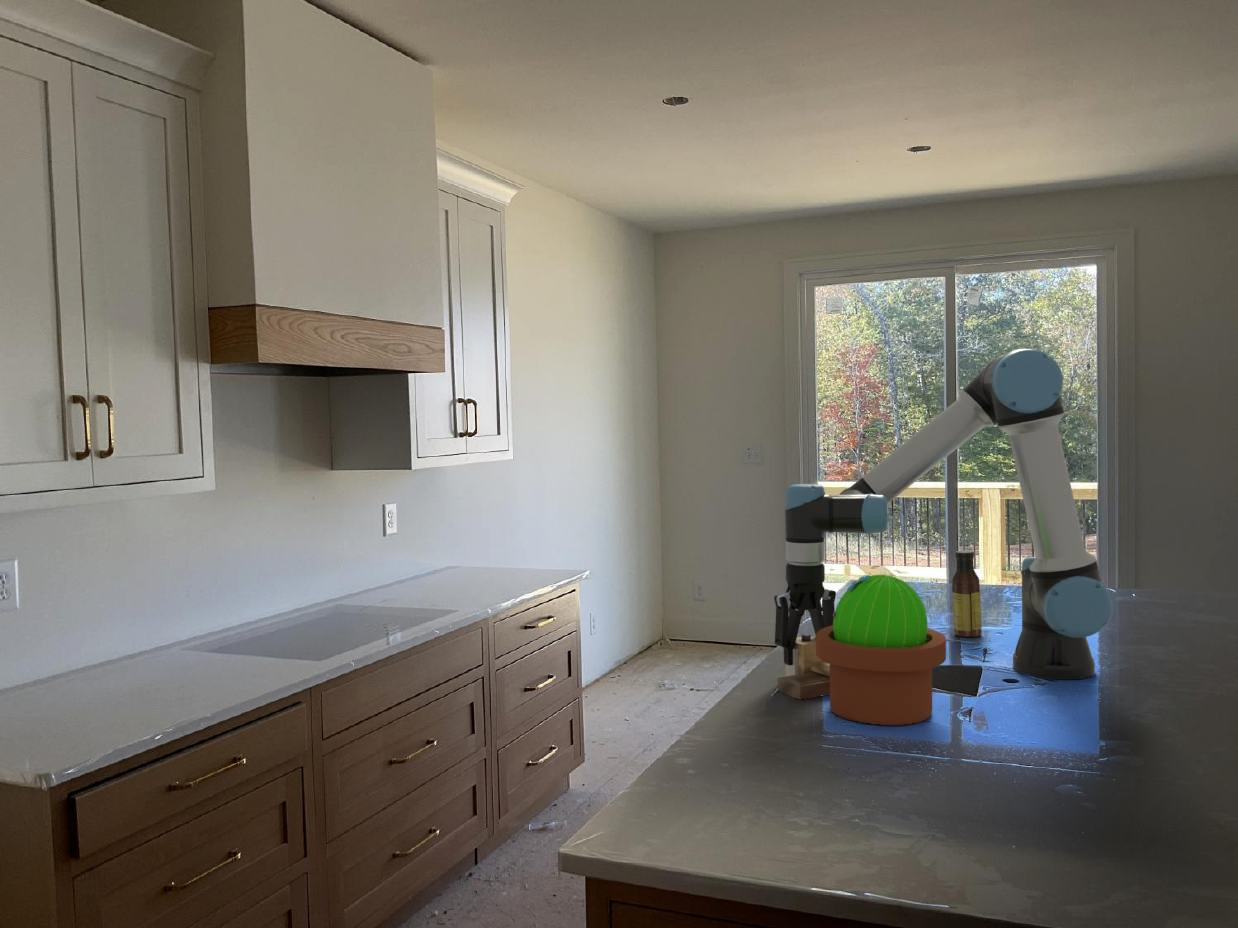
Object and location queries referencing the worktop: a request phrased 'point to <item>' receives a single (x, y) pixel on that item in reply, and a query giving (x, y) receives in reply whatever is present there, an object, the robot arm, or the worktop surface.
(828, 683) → the board
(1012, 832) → the worktop surface
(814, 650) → the tan wooden block
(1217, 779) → the worktop surface
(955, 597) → the sauce bottle
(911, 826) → the worktop surface
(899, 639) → the potted cactus
